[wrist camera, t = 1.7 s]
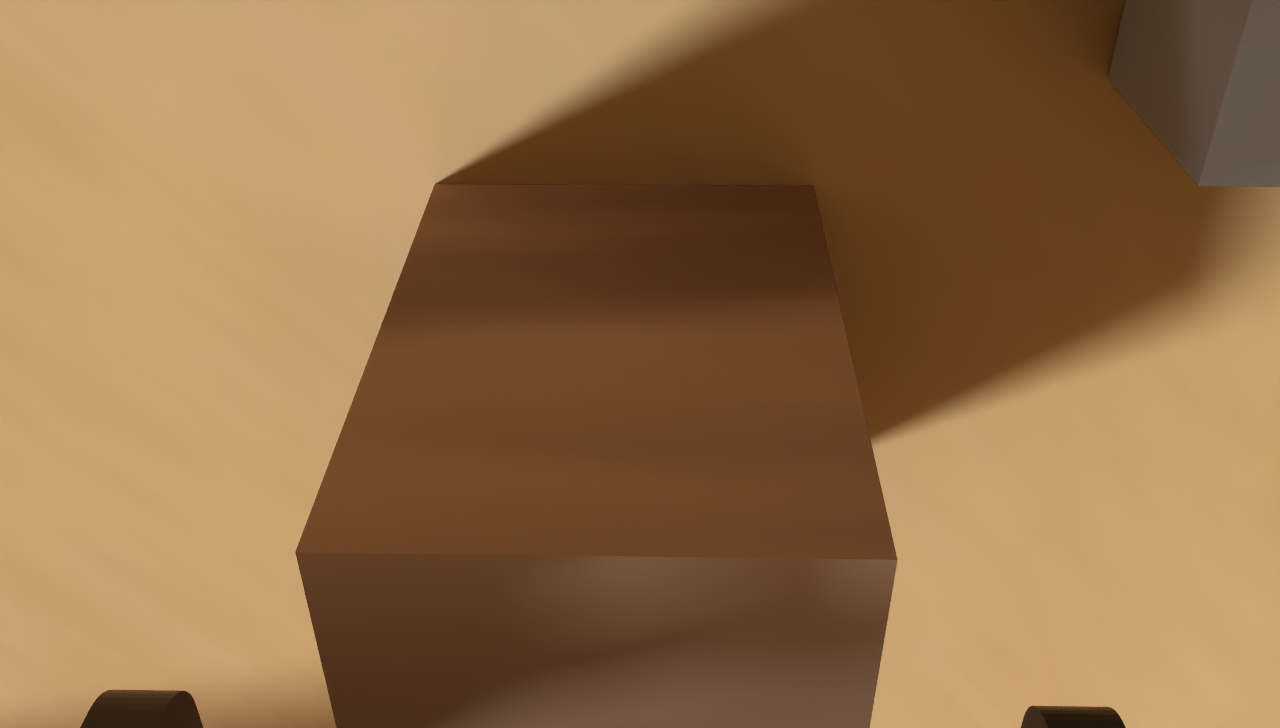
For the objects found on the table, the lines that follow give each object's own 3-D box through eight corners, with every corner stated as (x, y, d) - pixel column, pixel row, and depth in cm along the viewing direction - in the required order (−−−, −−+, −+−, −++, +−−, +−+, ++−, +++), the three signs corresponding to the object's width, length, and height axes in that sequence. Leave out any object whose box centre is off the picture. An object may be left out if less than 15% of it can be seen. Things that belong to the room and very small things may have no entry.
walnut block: (435, 182, 16) (296, 552, 10) (812, 185, 15) (897, 560, 10) (468, 472, 18) (374, 891, 13) (787, 476, 18) (841, 900, 12)
